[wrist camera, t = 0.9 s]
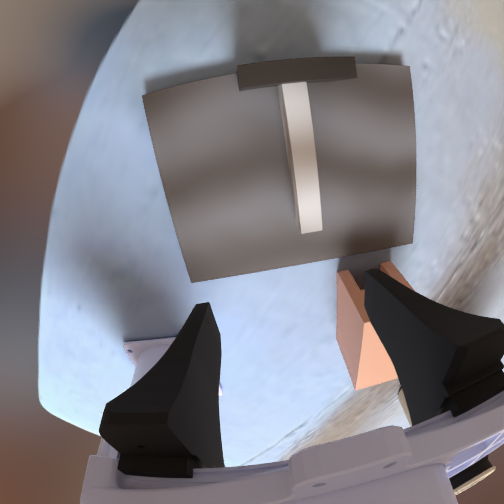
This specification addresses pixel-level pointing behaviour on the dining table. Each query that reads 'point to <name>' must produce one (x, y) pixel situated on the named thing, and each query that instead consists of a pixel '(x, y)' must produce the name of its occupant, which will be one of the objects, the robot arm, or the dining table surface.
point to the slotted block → (362, 332)
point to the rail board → (287, 163)
